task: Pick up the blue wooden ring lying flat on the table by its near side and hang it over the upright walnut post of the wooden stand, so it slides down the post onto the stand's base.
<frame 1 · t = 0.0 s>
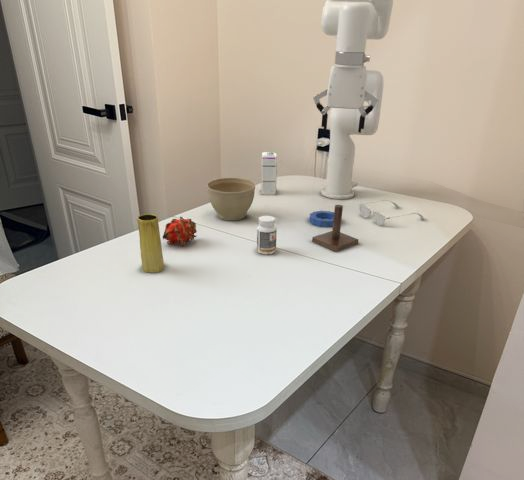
hand: (342, 130, 138), 31 cm above the table, tool pointing down, fingers open, 9 cm apart
syrup box: (268, 193, 193), on the table
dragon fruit: (180, 244, 149), on the table
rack: (334, 242, 152), on the table
blue ring: (324, 221, 167), on the table
pill bottle: (266, 251, 146), on the table
vase: (153, 268, 135), on the table
eyeglasses: (391, 217, 173), on the table
planter bowl: (231, 217, 170), on the table
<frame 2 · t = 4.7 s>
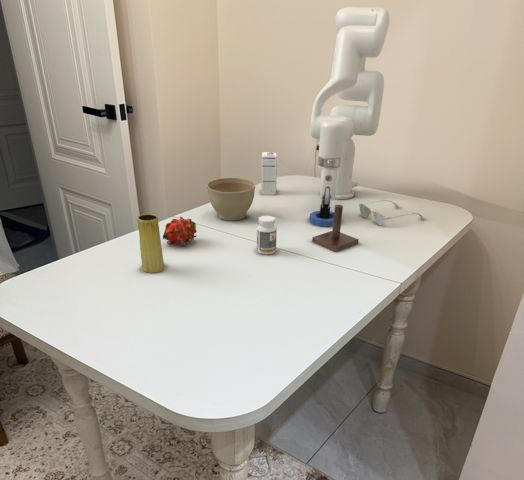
hand: (324, 217, 171), 0 cm above the table, tool pointing down, fingers closed on blue ring, 2 cm apart
blue ring: (324, 221, 168), on the table, touching gripper
everything else where it was.
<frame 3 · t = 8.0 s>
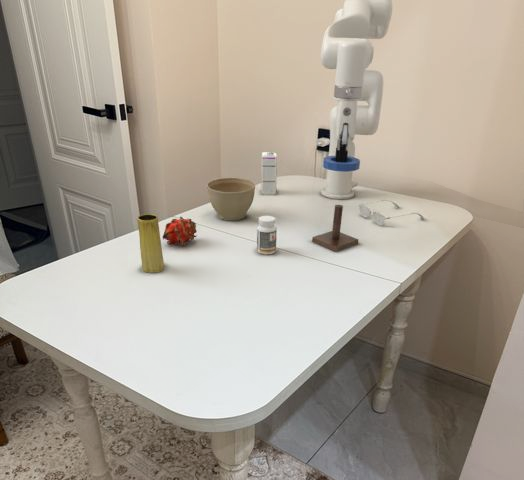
hand: (340, 163, 145), 22 cm above the table, tool pointing down, fingers closed on blue ring
blue ring: (340, 166, 142), point 22 cm above the table, touching gripper
everything else where it was.
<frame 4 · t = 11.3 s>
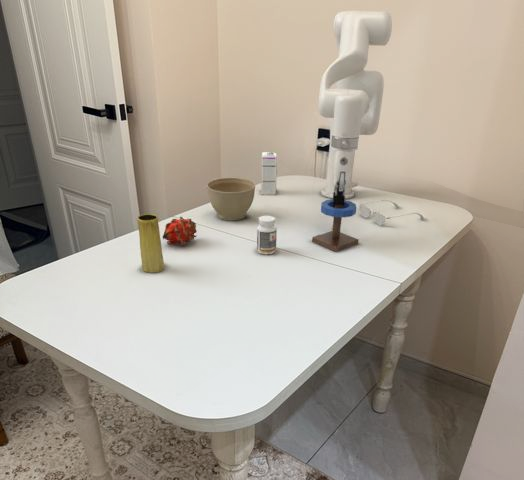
hand: (337, 206, 150), 10 cm above the table, tool pointing down, fingers closed on blue ring
blue ring: (338, 211, 147), point 10 cm above the table, touching gripper
everything else where it was.
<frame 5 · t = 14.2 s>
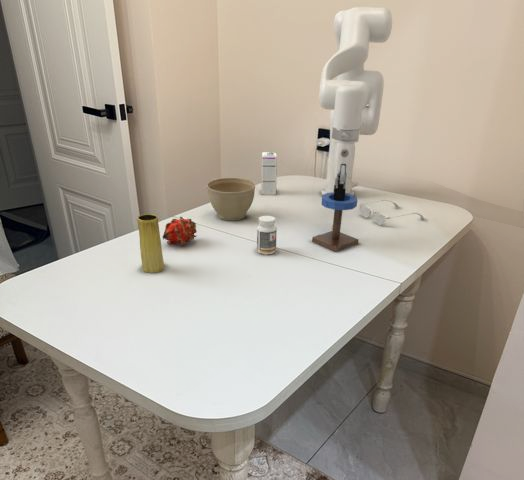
hand: (338, 199, 149), 12 cm above the table, tool pointing down, fingers closed on blue ring
blue ring: (338, 204, 146), point 12 cm above the table, touching gripper
everything else where it was.
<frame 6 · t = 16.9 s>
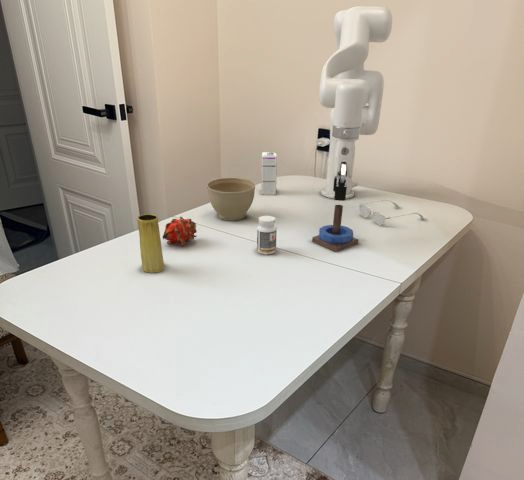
hand: (339, 195, 148), 13 cm above the table, tool pointing down, fingers open, 7 cm apart
blue ring: (335, 237, 152), point 1 cm above the table, touching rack
everything else where it was.
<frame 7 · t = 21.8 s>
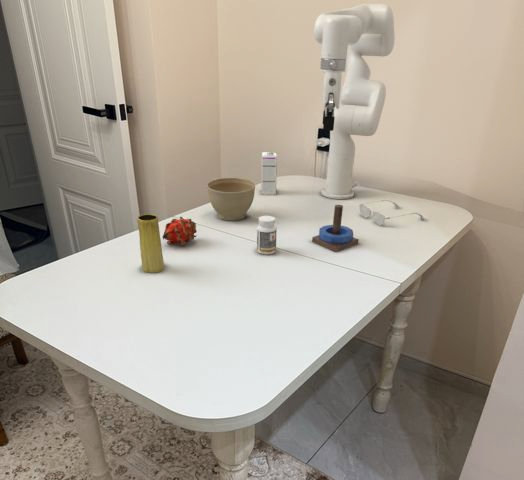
hand: (327, 127, 157), 28 cm above the table, tool pointing down, fingers open, 9 cm apart
nothing on the table moved.
at the end: blue ring 1.0 cm from the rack (horizontally); blue ring point 1.5 cm above the table; the gripper is holding nothing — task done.
